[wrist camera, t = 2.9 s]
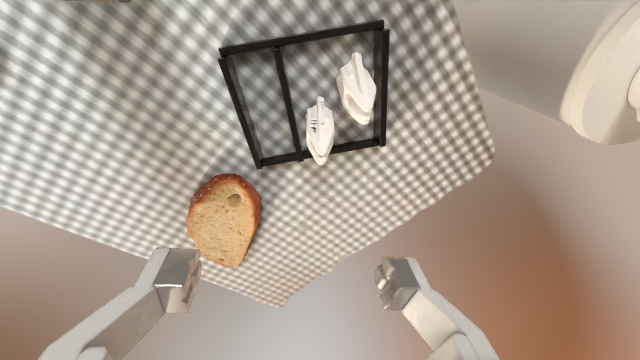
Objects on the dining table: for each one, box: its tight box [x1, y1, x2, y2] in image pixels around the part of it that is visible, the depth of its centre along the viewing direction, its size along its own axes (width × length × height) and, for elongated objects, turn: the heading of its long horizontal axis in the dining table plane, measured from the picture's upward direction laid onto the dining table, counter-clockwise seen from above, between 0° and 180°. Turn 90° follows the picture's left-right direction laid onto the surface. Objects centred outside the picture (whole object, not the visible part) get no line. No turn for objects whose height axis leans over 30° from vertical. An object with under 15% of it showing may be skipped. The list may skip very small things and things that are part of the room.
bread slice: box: [187, 174, 260, 267], centre depth 42 cm, size 18×18×4 cm
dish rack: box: [218, 20, 390, 169], centre depth 31 cm, size 19×16×3 cm
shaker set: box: [305, 52, 376, 165], centre depth 28 cm, size 12×4×11 cm, turn 142°
